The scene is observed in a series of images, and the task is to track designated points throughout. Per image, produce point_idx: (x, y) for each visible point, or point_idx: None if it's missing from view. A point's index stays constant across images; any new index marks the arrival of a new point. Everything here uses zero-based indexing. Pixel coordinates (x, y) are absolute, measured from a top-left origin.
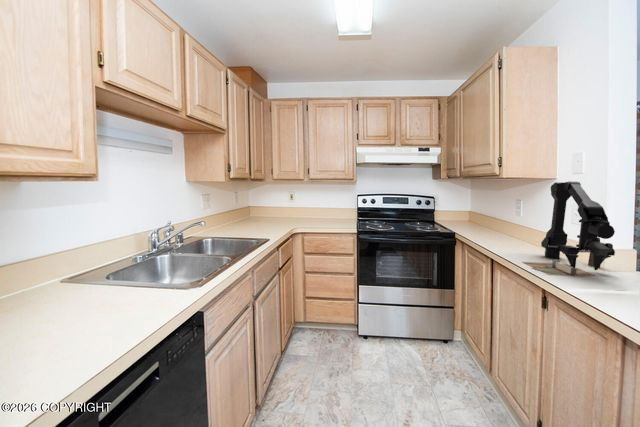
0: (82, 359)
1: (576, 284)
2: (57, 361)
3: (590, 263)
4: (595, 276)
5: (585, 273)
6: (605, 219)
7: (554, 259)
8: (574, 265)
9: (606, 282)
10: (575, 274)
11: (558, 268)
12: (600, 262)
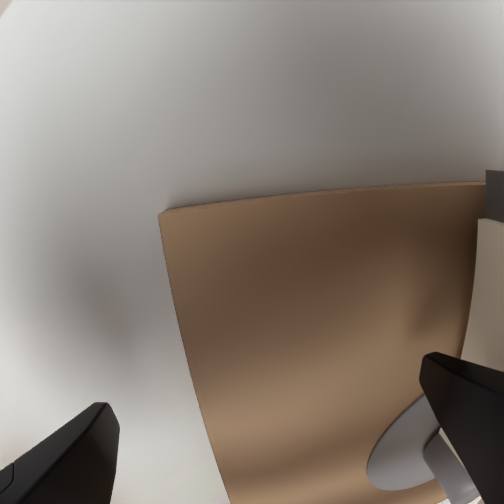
0: None
1: (495, 18)
2: None
3: None
4: (212, 207)
5: (274, 338)
6: None
7: (477, 495)
8: (481, 370)
9: (149, 84)
10: (494, 170)
11: None
12: (20, 477)
